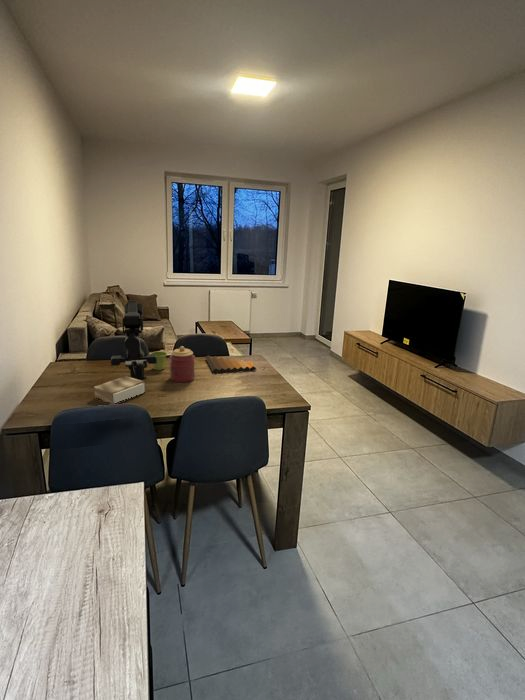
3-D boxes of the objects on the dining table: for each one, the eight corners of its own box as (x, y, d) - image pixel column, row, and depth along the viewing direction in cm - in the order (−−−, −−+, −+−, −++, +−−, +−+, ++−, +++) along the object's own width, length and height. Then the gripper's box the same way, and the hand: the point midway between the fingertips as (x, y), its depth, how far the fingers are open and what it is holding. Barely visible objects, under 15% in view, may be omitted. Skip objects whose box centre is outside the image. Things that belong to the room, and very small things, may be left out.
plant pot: (149, 366, 226) (148, 352, 224) (165, 365, 230) (165, 350, 228) (151, 372, 218) (151, 356, 216) (169, 370, 222) (168, 355, 220)
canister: (164, 379, 208) (163, 347, 203) (180, 372, 219) (180, 341, 214) (184, 384, 202) (184, 351, 197) (200, 377, 213) (199, 345, 208)
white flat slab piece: (144, 392, 191) (143, 381, 189) (145, 392, 190) (145, 382, 189) (113, 404, 176) (112, 393, 175) (115, 404, 176) (114, 393, 174)
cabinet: (126, 386, 197) (125, 375, 195) (143, 392, 191) (143, 381, 189) (95, 398, 182) (94, 386, 180) (112, 404, 176) (111, 392, 174)
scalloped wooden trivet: (205, 360, 243) (212, 374, 220) (205, 355, 242) (212, 368, 219) (244, 358, 250) (256, 371, 227) (245, 353, 249) (256, 365, 226)
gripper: (155, 338, 181) (156, 371, 185) (111, 339, 176) (114, 373, 180) (156, 345, 171) (157, 379, 175) (109, 346, 166) (112, 382, 170)
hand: (135, 378), depth 175 cm, fingers closed
